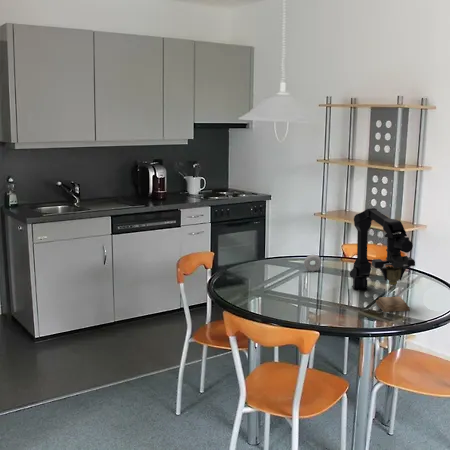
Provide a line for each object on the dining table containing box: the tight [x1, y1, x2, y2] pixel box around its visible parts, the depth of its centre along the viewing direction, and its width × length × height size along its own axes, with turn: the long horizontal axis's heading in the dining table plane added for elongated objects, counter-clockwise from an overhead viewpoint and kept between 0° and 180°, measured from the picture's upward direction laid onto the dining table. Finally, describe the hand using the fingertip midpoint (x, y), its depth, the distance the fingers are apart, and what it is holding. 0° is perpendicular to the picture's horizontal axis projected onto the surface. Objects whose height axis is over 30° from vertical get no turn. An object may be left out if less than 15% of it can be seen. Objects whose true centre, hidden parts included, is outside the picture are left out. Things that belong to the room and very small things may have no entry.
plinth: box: [375, 296, 411, 313], centre depth 271 cm, size 12×12×3 cm
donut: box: [303, 254, 322, 273], centre depth 329 cm, size 10×4×10 cm, turn 97°
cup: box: [385, 265, 402, 286], centre depth 270 cm, size 8×7×8 cm
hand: (393, 280), depth 270 cm, fingers closed on cup, 6 cm apart
